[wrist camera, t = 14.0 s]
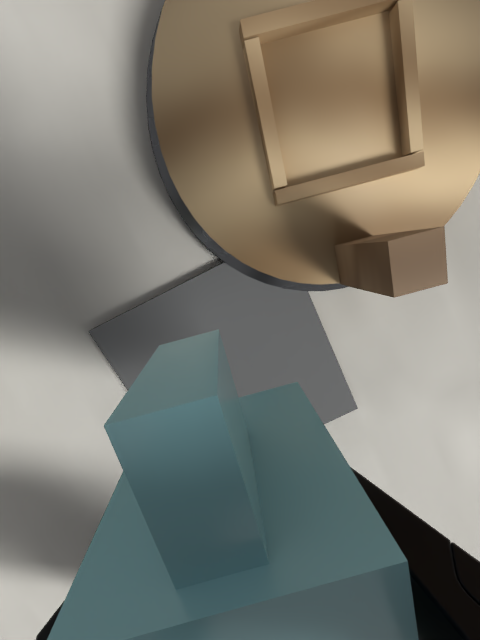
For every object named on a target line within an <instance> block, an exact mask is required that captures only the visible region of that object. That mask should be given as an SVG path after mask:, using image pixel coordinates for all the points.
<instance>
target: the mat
mask: <svg viewBox="0 0 480 640" xmlns="http://www.w3.org/2000/svg"><path fill="white" fill-rule="evenodd" d="M218 329H219V332H220V335H221V339H222V342H223V346H224V349H225V353H226V356H227V359H228V363H229V366H230V370H231V373H232V377H233V380H234V384H235V387H236V391H237V394H238V398H239V397H243V396H247V395H250V394H254V393H258V392H261V391H265V390H269V389H272V388H276V387H280V386H283V385H287V384H291V383H295V382H298V383H299V385H300V387H301V388H302V390H303V391H304V393H305V395H306V396H307V398H308V400H309V401H310V403H311V404H312V406H313V408H314V409H315V411H316V413H317V414H318V416H319V417H320V419H321V421H322V422H323V424H326V423H328V422H330V421H332V420H334V419H336V418H338V417H341V416H343V415H345V414H347V413H349V412H351V411H353V410H355V409H358V408H357V406H356V403H355V401H354V398H353V396H352V394H351V391H350V389H349V387H348V384H347V382H346V380H345V377H344V375H343V373H342V370H341V368H340V366H339V363H338V361H337V359H336V356H335V354H334V352H333V349H332V347H331V345H330V342H329V340H328V338H327V335H326V333H325V331H324V328H323V326H322V324H321V321H320V319H319V317H318V314H317V312H316V309H315V307H314V305H313V302H312V300H311V298H310V295H309V293H308V291H299V290H291V289H284V288H280V287H276V286H273V285H269V284H265V283H263V282H260V281H258V280H256V279H253V278H251V277H248V276H246V275H245V274H243V273H241V272H239V271H238V270H236V269H234V268H233V267H231V266H229V265H228V264H227V263H225V262H224V263H222V264H220V265H218V266H216V267H214V268H212V269H210V270H208V271H206V272H204V273H202V274H200V275H198V276H196V277H194V278H192V279H190V280H188V281H186V282H184V283H182V284H180V285H179V286H177V287H175V288H173V289H171V290H169V291H167V292H165V293H163V294H161V295H159V296H157V297H155V298H153V299H151V300H149V301H147V302H145V303H143V304H141V305H139V306H137V307H135V308H133V309H131V310H129V311H127V312H125V313H123V314H121V315H119V316H117V317H115V318H113V319H112V320H110V321H108V322H106V323H104V324H102V325H100V326H98V327H96V328H94V329H92V330H90V331H88V332H89V333H90V335H91V336H92V338H93V339H94V341H95V342H96V344H97V345H98V347H99V348H100V350H101V351H102V352H103V354H104V355H105V357H106V358H107V360H108V361H109V363H110V364H111V366H112V367H113V369H114V370H115V372H116V373H117V375H118V376H119V378H120V379H121V381H122V382H123V384H124V385H125V387H126V388H127V390H129V388H130V387H131V386H132V384H133V383H134V381H135V380H136V378H137V377H138V375H139V374H140V373H141V371H142V370H143V368H144V367H145V365H146V364H147V362H148V361H149V359H150V358H151V357H152V355H153V354H154V352H155V351H156V349H157V348H158V346H159V345H162V344H166V343H170V342H173V341H177V340H181V339H185V338H188V337H192V336H196V335H199V334H203V333H207V332H211V331H214V330H218Z"/></svg>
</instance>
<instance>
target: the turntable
mask: <svg viewBox="0 0 480 640" xmlns="http://www.w3.org/2000/svg"><path fill="white" fill-rule="evenodd" d="M152 102H153V111H154V120H155V126H156V131H157V135H158V139H159V144H160V148H161V152H162V155H163V157H164V160H165V163H166V166H167V169H168V171H169V174H170V177H171V179H172V181H173V183H174V185H175V187H176V189H177V191H178V193H179V195H180V197H181V199H182V200H183V202H184V203H185V205H186V206H187V208H188V209H189V211H190V212H191V214H192V215H193V217H194V218H195V220H196V221H197V222H198V223H199V225H200V226H201V227H202V228H203V229H204V230H205V232H206V233H207V234H208V235H209V236H210V237H211V238H212V239H213V240H214V241H215V242H216V243H217V244H218V245H219V246H221V247H222V248H223V249H224V250H225V251H226V252H228V253H229V254H231V255H232V256H233V257H235V258H236V259H238V260H239V261H241V262H242V263H244V264H246V265H248V266H250V267H252V268H254V269H256V270H258V271H260V272H262V273H265V274H268V275H271V276H273V277H276V278H279V279H283V280H287V281H292V282H297V283H306V284H335V283H340V284H341V285H345V286H349V287H353V288H357V289H362V290H366V291H370V292H374V293H378V294H382V295H386V296H390V297H398V296H402V295H405V294H409V293H413V292H417V291H420V290H424V289H428V288H432V287H435V286H439V285H443V284H447V283H448V279H447V263H446V246H445V230H444V225H445V224H446V223H447V222H448V221H449V220H450V218H451V217H452V216H453V214H454V213H455V212H456V211H457V209H458V208H459V207H460V206H461V204H462V202H463V201H464V199H465V198H466V196H467V195H468V193H469V191H470V190H471V188H472V187H473V185H474V183H475V181H476V179H477V177H478V175H479V173H480V0H165V3H164V5H163V8H162V12H161V16H160V21H159V25H158V29H157V33H156V37H155V45H154V54H153V62H152Z"/></svg>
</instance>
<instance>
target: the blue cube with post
mask: <svg viewBox="0 0 480 640" xmlns="http://www.w3.org/2000/svg"><path fill="white" fill-rule="evenodd" d="M104 427H105V430H106V432H107V434H108V436H109V439H110V441H111V443H112V446H113V448H114V450H115V452H116V455H117V457H118V459H119V462H120V464H121V466H122V468H123V473H122V475H121V477H120V480H119V482H118V484H117V486H116V488H115V491H114V493H113V495H112V497H111V499H110V502H109V504H108V506H107V508H106V510H105V513H104V515H103V517H102V519H101V522H100V524H99V526H98V528H97V530H96V533H95V535H94V537H93V539H92V541H91V544H90V546H89V548H88V550H87V552H86V555H85V557H84V559H83V561H82V563H81V566H80V568H79V570H78V572H77V574H76V577H75V579H74V581H73V583H72V586H71V588H70V590H69V592H68V594H67V597H66V599H65V601H64V603H63V605H62V608H61V610H60V612H59V614H58V616H57V619H56V621H55V623H54V625H53V627H52V630H51V632H50V634H49V636H48V639H47V640H419V639H418V631H417V624H416V617H415V610H414V603H413V595H412V588H411V581H410V574H409V567H408V561H407V559H406V557H405V556H404V554H403V553H402V551H401V549H400V548H399V546H398V544H397V543H396V541H395V540H394V538H393V536H392V535H391V533H390V531H389V530H388V528H387V527H386V525H385V523H384V522H383V520H382V518H381V517H380V515H379V513H378V512H377V510H376V509H375V507H374V505H373V504H372V502H371V500H370V499H369V497H368V496H367V494H366V492H365V491H364V489H363V487H362V486H361V484H360V483H359V481H358V479H357V478H356V476H355V474H354V473H353V471H352V470H351V468H350V466H349V465H348V463H347V461H346V460H345V458H344V457H343V455H342V453H341V452H340V450H339V448H338V447H337V445H336V444H335V442H334V440H333V439H332V437H331V435H330V434H329V432H328V431H327V429H326V427H325V426H324V424H323V422H322V421H321V419H320V417H319V416H318V414H317V413H316V411H315V409H314V408H313V406H312V404H311V403H310V401H309V400H308V398H307V396H306V395H305V393H304V391H303V390H302V388H301V387H300V385H299V383H298V382H295V383H291V384H287V385H283V386H280V387H276V388H272V389H269V390H265V391H261V392H258V393H254V394H250V395H247V396H243V397H239V398H238V394H237V391H236V387H235V384H234V380H233V377H232V373H231V370H230V366H229V363H228V359H227V356H226V353H225V349H224V346H223V342H222V339H221V335H220V332H219V329H218V330H214V331H211V332H207V333H203V334H199V335H196V336H192V337H188V338H185V339H181V340H177V341H173V342H170V343H166V344H162V345H159V346H158V348H157V349H156V351H155V352H154V354H153V355H152V357H151V358H150V359H149V361H148V362H147V364H146V365H145V367H144V368H143V370H142V371H141V373H140V374H139V375H138V377H137V378H136V380H135V381H134V383H133V384H132V386H131V387H130V388H129V390H128V391H127V393H126V394H125V396H124V397H123V399H122V400H121V401H120V403H119V404H118V406H117V407H116V409H115V410H114V412H113V413H112V415H111V416H110V417H109V419H108V420H107V422H106V423H105V425H104Z"/></svg>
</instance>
